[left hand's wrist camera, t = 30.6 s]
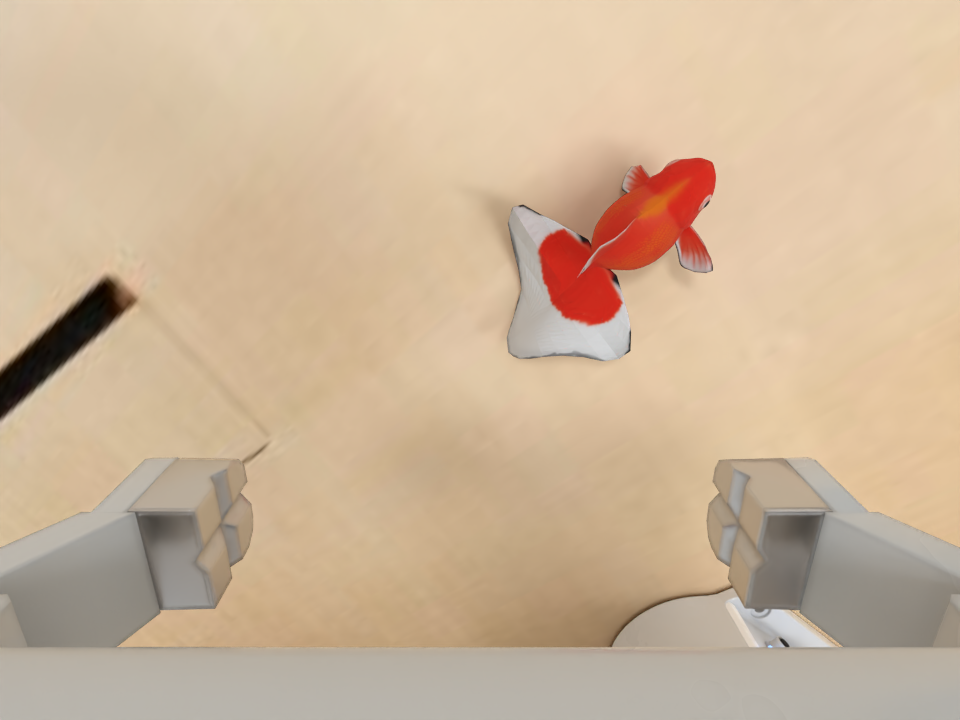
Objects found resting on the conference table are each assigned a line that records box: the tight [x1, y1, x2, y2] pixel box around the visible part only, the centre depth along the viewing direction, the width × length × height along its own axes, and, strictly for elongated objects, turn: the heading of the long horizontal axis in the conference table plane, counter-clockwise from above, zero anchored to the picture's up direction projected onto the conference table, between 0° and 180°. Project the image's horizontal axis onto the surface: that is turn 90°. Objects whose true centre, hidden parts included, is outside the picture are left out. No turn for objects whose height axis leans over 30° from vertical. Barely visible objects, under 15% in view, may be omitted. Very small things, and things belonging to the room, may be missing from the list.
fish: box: [507, 158, 716, 361], centre depth 35 cm, size 11×16×10 cm
